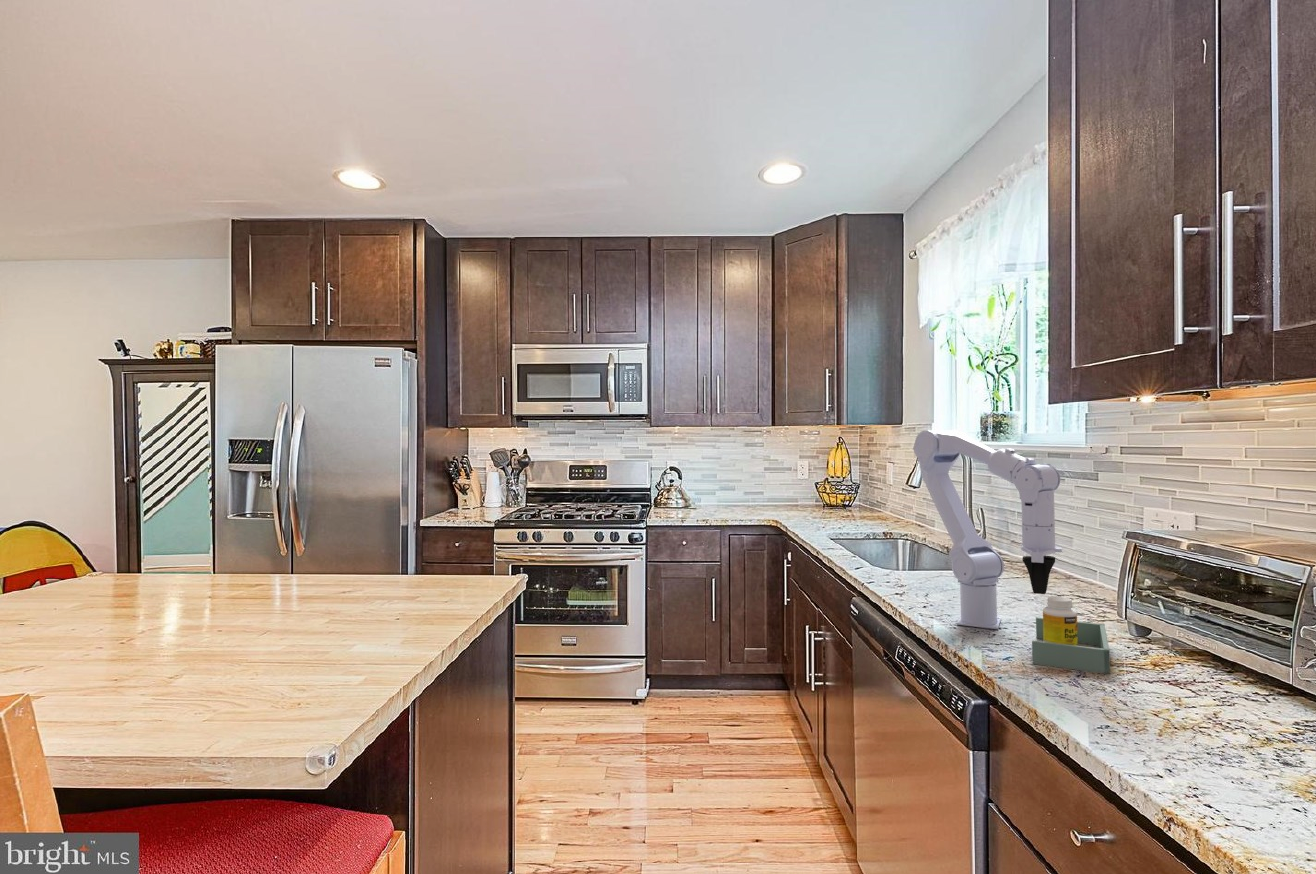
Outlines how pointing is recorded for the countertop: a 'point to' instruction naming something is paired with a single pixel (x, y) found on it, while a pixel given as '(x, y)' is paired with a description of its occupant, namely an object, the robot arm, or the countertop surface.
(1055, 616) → the supplement bottle
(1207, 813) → the countertop surface
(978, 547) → the robot arm
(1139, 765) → the countertop surface
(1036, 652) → the u-shaped frame
